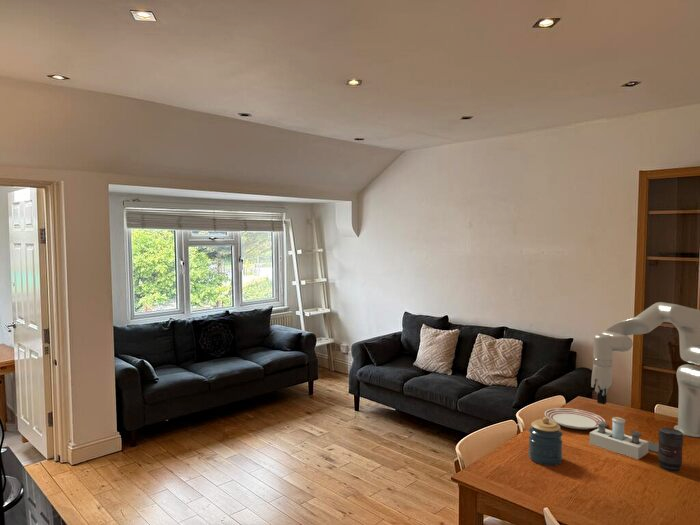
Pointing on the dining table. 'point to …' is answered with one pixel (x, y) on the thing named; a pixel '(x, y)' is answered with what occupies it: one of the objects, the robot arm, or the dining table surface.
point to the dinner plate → (573, 418)
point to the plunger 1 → (601, 426)
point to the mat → (653, 447)
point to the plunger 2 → (635, 436)
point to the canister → (545, 442)
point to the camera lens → (670, 449)
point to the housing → (619, 444)
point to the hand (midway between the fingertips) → (601, 403)
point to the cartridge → (618, 428)
